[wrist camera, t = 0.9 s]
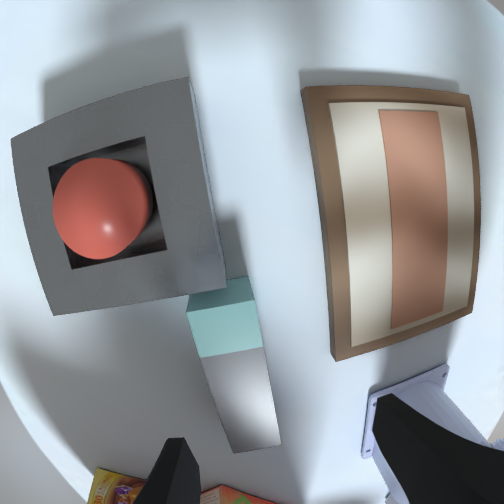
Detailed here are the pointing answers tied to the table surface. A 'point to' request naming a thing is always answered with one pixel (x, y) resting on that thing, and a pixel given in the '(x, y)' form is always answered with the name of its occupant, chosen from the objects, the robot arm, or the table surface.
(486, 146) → the table surface
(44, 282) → the button housing
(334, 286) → the wooden picture frame
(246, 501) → the cracker box
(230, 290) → the marker
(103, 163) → the button
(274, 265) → the table surface
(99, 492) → the candy box
